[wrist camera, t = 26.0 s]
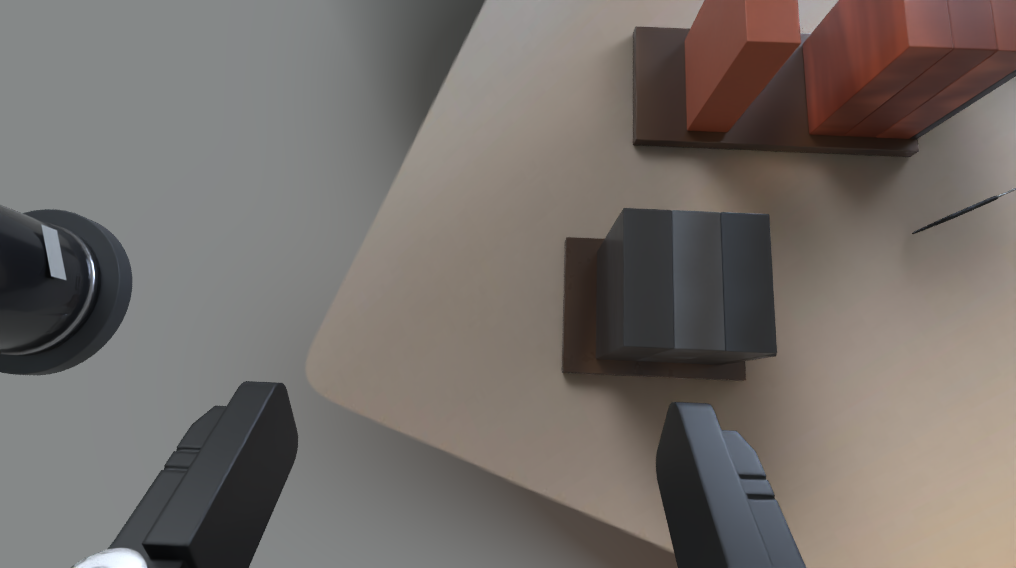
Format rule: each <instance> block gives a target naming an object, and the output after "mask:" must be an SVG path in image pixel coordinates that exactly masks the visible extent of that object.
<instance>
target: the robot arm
mask: <svg viewBox="0 0 1016 568" xmlns="http://www.w3.org/2000/svg"><path fill="white" fill-rule="evenodd" d="M100 288H101V271H100V266H99V262H98V259H97V257H96V255H95V253H94V251H93V249H92V248H91V247H90V245H89V244H88V243H87V242H86V241H85V240H84V239H83V238H82V237H80V236H79V235H77V234H76V233H74V232H72V231H70V230H67V229H65V228H62V227H60V226H57V225H54V224H51V223H46V222H43V221H40V220H38V219H35V218H33V217H30V216H27V215H25V214H23V213H20V212H18V211H15V210H13V209H10V208H7V207H5V206H2V205H0V354H6V355H17V356H26V355H34V354H39V353H43V352H46V351H49V350H51V349H53V348H55V347H57V346H59V345H61V344H63V343H64V342H66V341H67V340H69V339H70V338H71V337H72V336H74V335H75V334H76V333H77V332H78V331H79V330H80V329H81V328H82V327H83V325H84V324H85V323H86V322H87V320H88V319H89V317H90V316H91V314H92V312H93V310H94V308H95V306H96V303H97V301H98V297H99V293H100ZM297 448H298V433H297V428H296V424H295V421H294V417H293V413H292V409H291V405H290V401H289V397H288V393H287V389H286V387H285V385H284V384H283V383H271V382H249V381H248V382H247V381H246V382H243V383H242V384H241V385H240V386H239V387H238V389H237V391H236V392H235V394H234V395H233V397H232V399H231V400H230V402H229V404H228V405H227V406H214V407H213V408H212V409H210V410H209V411H208V412H207V413H206V414H204V415H203V416H202V417H201V418H199V419H198V420H197V421H196V422H195V423H193V424H192V425H191V427H190V428H189V430H188V431H187V433H186V434H185V436H184V437H183V439H182V440H181V442H180V443H179V445H178V446H177V451H176V452H175V451H174V452H173V454H172V455H171V457H170V458H169V459H168V461H167V463H166V464H165V468H164V470H161V472H160V473H159V475H158V476H157V478H156V479H155V480H154V482H153V483H152V485H151V486H150V488H149V489H148V491H147V492H146V494H145V495H144V497H143V499H142V500H141V501H140V503H139V504H138V506H137V507H136V509H135V510H134V512H133V513H132V515H131V516H130V518H129V519H128V521H127V522H126V524H125V525H124V527H123V528H122V530H121V531H120V533H119V534H118V536H117V537H116V539H115V540H114V542H113V543H112V544H111V545H110V547H109V548H108V549H107V550H104V551H100V552H98V553H95V554H93V555H91V556H89V557H87V558H85V559H83V560H81V561H80V562H78V563H77V564H75V565H74V566H72V567H71V568H249V565H250V563H251V561H252V559H253V556H254V554H255V552H256V549H257V547H258V545H259V542H260V540H261V538H262V535H263V533H264V531H265V528H266V526H267V524H268V522H269V519H270V517H271V514H272V512H273V510H274V507H275V505H276V503H277V501H278V498H279V496H280V494H281V491H282V489H283V487H284V485H285V482H286V480H287V478H288V475H289V473H290V471H291V468H292V466H293V464H294V461H295V458H296V454H297ZM656 473H657V480H658V485H659V489H660V494H661V498H662V502H663V506H664V511H665V515H666V519H667V523H668V527H669V532H670V536H671V540H672V544H673V549H674V553H675V557H676V561H677V565H678V568H806V566H805V564H804V562H803V559H802V557H801V555H800V552H799V550H798V548H797V546H796V543H795V541H794V539H793V536H792V534H791V532H790V529H789V527H788V525H787V523H786V520H785V518H784V516H783V513H782V511H781V509H780V506H779V504H778V502H777V500H775V498H774V496H775V495H774V493H773V490H772V488H771V486H770V483H769V481H768V480H766V474H765V472H764V470H763V467H762V465H761V463H760V460H759V458H758V456H757V454H756V452H755V450H754V449H753V448H752V447H751V446H750V445H749V444H748V443H747V442H746V441H745V440H744V438H743V437H742V436H741V435H740V434H739V433H738V432H737V431H728V430H721V427H720V425H719V422H718V420H717V417H716V414H715V412H714V410H713V408H712V406H711V405H710V404H707V403H685V402H672V403H671V404H670V406H669V409H668V412H667V416H666V420H665V423H664V427H663V431H662V434H661V438H660V442H659V445H658V449H657V455H656Z"/></svg>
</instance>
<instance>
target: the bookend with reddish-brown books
mask: <svg viewBox="0 0 1016 568" xmlns="http://www.w3.org/2000/svg"><path fill="white" fill-rule="evenodd" d="M689 31H690V29H682V28H658V27H635V29H634V32H633V145H646V146H669V147H693V148H716V149H739V150H762V151H786V152H809V153H832V154H855V155H879V156H902V157H911V156H912V155H914V154H916V153H917V152H919V148H918V140H917V139H918V138H919V137H921V136H922V135H924V134H926V133H927V132H929V131H930V130H932V129H933V128H935V127H937V126H938V125H940V124H941V123H943V122H944V121H946V120H948V119H949V118H951V117H952V116H954V115H955V114H957V113H959V112H960V111H962V110H963V109H965V108H966V107H968V106H970V105H971V104H973V103H974V102H976V101H977V100H979V99H981V98H982V97H984V96H985V95H987V94H988V93H990V92H992V91H993V90H995V89H996V88H998V87H999V86H1001V85H1003V84H1004V83H1006V82H1007V81H1009V80H1010V79H1012V78H1014V77H1015V76H1016V0H839V1H838V2H837V3H836V5H835V6H834V7H833V8H832V9H831V11H830V12H829V13H828V14H827V15H826V17H825V18H824V19H823V20H822V21H821V23H820V24H819V25H818V26H817V27H816V29H815V30H814V31H813V32H812V33H811V34H801V33H800V36H801V44H800V45H799V47H798V48H797V49H796V50H795V51H794V53H793V54H792V55H791V56H790V57H789V59H788V60H787V61H786V62H785V64H784V65H783V66H782V67H781V68H780V70H779V71H778V72H777V73H776V74H775V76H774V77H773V78H772V79H771V80H770V82H769V83H768V84H767V85H766V86H765V88H764V89H763V90H762V91H761V93H760V94H759V95H758V96H757V97H756V99H755V100H754V101H753V102H752V103H751V105H750V106H749V107H748V108H747V109H746V111H745V112H744V113H743V114H742V116H741V117H740V118H739V119H738V120H737V122H736V123H735V124H734V125H733V126H732V128H731V129H730V130H729V131H728V132H707V131H687V110H686V72H685V39H686V37H687V35H688V33H689Z"/></svg>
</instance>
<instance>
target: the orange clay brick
mask: <svg viewBox="0 0 1016 568" xmlns="http://www.w3.org/2000/svg"><path fill="white" fill-rule="evenodd" d="M800 44H801V36H800V23H799V10H798V0H704V3H703V5H702V7H701V9H700V11H699V13H698V15H697V17H696V19H695V21H694V23H693V25H692V27H691V29H690V31H689V33H688V35H687V37H686V39H685V72H686V110H687V131H707V132H728V131H729V130H730V129H731V128H732V126H733V125H734V124H735V123H736V122H737V120H738V119H739V118H740V117H741V116H742V114H743V113H744V112H745V111H746V109H747V108H748V107H749V106H750V105H751V103H752V102H753V101H754V100H755V99H756V97H757V96H758V95H759V94H760V93H761V91H762V90H763V89H764V88H765V86H766V85H767V84H768V83H769V82H770V80H771V79H772V78H773V77H774V76H775V74H776V73H777V72H778V71H779V70H780V68H781V67H782V66H783V65H784V64H785V62H786V61H787V60H788V59H789V57H790V56H791V55H792V54H793V53H794V51H795V50H796V49H797V48H798V47H799V45H800Z"/></svg>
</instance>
